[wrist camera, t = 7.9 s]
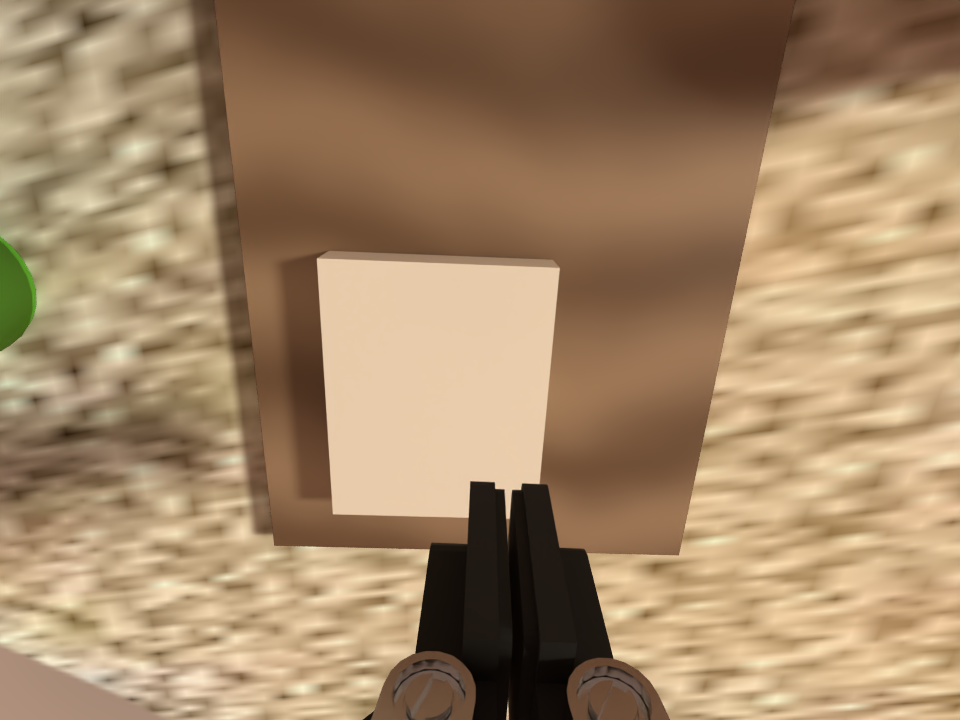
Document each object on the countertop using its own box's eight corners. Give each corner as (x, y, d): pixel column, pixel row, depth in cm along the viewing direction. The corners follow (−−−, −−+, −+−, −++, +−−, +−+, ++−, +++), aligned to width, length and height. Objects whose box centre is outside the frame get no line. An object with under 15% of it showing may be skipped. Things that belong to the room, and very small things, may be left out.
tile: (552, 259, 19) (329, 250, 19) (559, 268, 18) (316, 258, 18) (531, 494, 23) (342, 489, 23) (536, 519, 21) (332, 514, 21)
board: (208, -208, 16) (188, -237, 15) (810, -169, 16) (836, -194, 15) (283, 528, 25) (274, 545, 24) (669, 537, 25) (678, 555, 24)
